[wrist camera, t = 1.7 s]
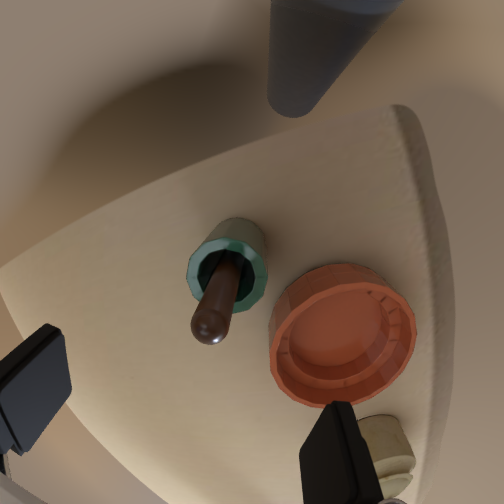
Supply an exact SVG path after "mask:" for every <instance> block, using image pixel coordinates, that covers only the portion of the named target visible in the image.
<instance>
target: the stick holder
mask: <svg viewBox="0 0 504 504" xmlns="http://www.w3.org/2000/svg"><path fill="white" fill-rule="evenodd" d="M225 249H227V250H231V251H235V252H239V253H241V254H242V255H243V256H244V262H243V266H242V271H241V275H240V280H239V285H238V289H237V294H236V298H235V303H234V307H233V312H232V314H234V313H238V312H242V311H246V310H249V309H250V308H251V307H252V306H253V305H254V304H255V303H256V302H257V301H258V300H259V299H261V298H262V296H263V294H264V290H265V287H266V283H267V279H268V267H267V246H266V242H265V238H264V235H263V232H262V231H261V230H260V228H259V227H258V226H257V225H256V224H255V223H253V222H252V221H250V220H247V219H244V218H230V219H227V220H225V221H222V222H221V223H219V224H218V226H217V227H216V228H215V229H214V230H213V231H212V232H211V233H210V234H209V236H208V237H207V238H206V239H205V240H204V241H203V243H202V244H201V245H200V246H199V247H198V248H197V250H196V251H195V252H194V253H193V254H192V256H191V257H190V259H189V264H188V269H187V275H186V277H187V278H186V279H187V282H188V284H189V287H190V290H191V292H192V295H193V296H194V298H196V299H197V300H198V301H199V302H200V300H201V298H202V296H203V294H204V292H205V290H206V288H207V286H208V283H209V281H210V279H211V277H212V275H213V273H214V271H215V269H216V267H217V265H218V263H219V261H220V259H221V257H222V255H223V253H224V250H225Z"/></svg>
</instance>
